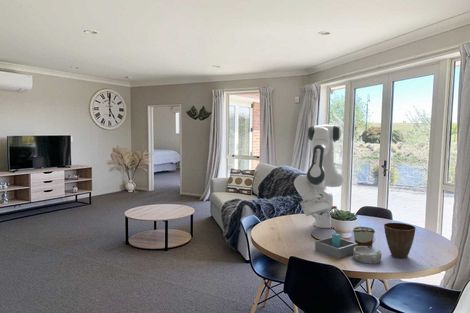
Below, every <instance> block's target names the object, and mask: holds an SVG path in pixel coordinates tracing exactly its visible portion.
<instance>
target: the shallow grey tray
mask: <svg viewBox="0 0 470 313" xmlns="http://www.w3.org/2000/svg"><path fill="white" fill-rule="evenodd" d="M314 244H315V245H314V250H315V251H317V252H320V253H322V254H325V255H327V256H330V257H333V258H335V259H337V260H338V259H342V258H344V257H348V256H350V255H353V249H354V248H355V247H357V246H358V243H355V241H351V240H348V239H344V238H342V237H340V248H336V247H333V246H332V236H329V237H326V238H321V239H319V240H315V241H314Z"/></svg>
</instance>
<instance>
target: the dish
mask: <svg viewBox="0 0 470 313" xmlns="http://www.w3.org/2000/svg"><path fill="white" fill-rule="evenodd" d="M352 255H353V259H354V260H356V261H357V262H360V263H363V264H371V265H374V264H379V263H380V262H381V261H382V252H381V250H378V251H377V252H373V251H372V250H371V249H370V248H369V247H367V246H357V247H355V248H354V249H353V254H352Z"/></svg>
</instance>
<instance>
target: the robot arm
mask: <svg viewBox="0 0 470 313" xmlns="http://www.w3.org/2000/svg"><path fill="white" fill-rule="evenodd" d="M341 136H342V130H341V128H340V126H339V125H337V124H336V125H335V124H334V125H333V124H322V125H321V124H320V125H319V124H318V125H311V126H309V127H308V129H307V138H308V139H309V141H312V142H311V153H312V157H311V165H310V167H309V168H308V170H307V172H306V175H304V174H299V175H297V176H296V177H295V179H294V180H293V185H294V188H295V189H296V191H297V193H298V194H299V195H300V196H301V199H302V200H301V201H300V206H301V209H302V211H303V213H304V214H305V216H307V217H309V216H311V217H312V218H314V221H313V224H314V226H315V227H317V228H322V229H332V228H331V224H330V217H331V215H330V211H331V210H332V209H334V210H336V209H338V206H336V205H333V204H334V196H333V194H332V193H331V192H330V191H328V189H327V188H338V187H341V186H343V183H344V175H343V174H342V173H341V172H340V171H339V170H338V168H337V167H336V165H335V162H334V161H335V160H334V157H335V156H334V155H335V154H334V153H335V151H334V149H335V148H334V143H336V142H337V141H338V140H340V138H341Z"/></svg>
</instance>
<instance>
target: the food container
mask: <svg viewBox="0 0 470 313" xmlns="http://www.w3.org/2000/svg"><path fill="white" fill-rule="evenodd" d="M352 233H353V237H354V242H355V243H358V246H367V247H368V248H369V247H373V242H374V237H375V233H376V231H375V228H373V227H372V228H371V227H368V226H356V227H355V226H354V227H353V229H352Z"/></svg>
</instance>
